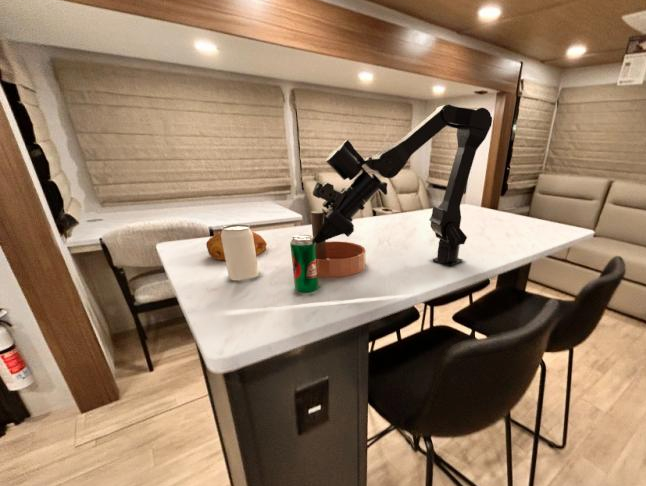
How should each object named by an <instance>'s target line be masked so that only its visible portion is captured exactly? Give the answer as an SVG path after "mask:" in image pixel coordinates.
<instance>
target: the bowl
mask: <svg viewBox="0 0 646 486" xmlns="http://www.w3.org/2000/svg"><path fill="white" fill-rule="evenodd" d="M365 248H366V247H364V246H363V245H361V244H358V243H355V242H349V241H340V240H339V241H338V240H337V241H336V240H335V241H333V240H332V241H326V255H327V258H329V260H326V259H317V267H318V278H329V279H333V278H335V279H336V278H345V277H351V276H353V275H356V274H359V273H361V272H363V271H364V270H365V268H366V266H367V265H366V264H367V263H366V249H365Z"/></svg>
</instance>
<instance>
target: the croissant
mask: <svg viewBox="0 0 646 486" xmlns="http://www.w3.org/2000/svg"><path fill="white" fill-rule="evenodd" d="M221 233H222V231H220V232H217V233H216V234H215V235H213V236H211V237H210V238H209V239H208V240H207V241H206V249H207V252H208V254H209V256H211V257H212V258H213V259H215V260H219V261H220V260H221V261H222V260H223V261H226V260H225V255H224V250H223V245H222V239H221ZM252 233H253V239H254V245H255V251H256V256H259V255H260V254H262V253H264V252H265V250H266V249H267V241H266V240H265V239H264V238H263V237H262V236H261V235H260V234H259V233H256V232H254V231H252Z"/></svg>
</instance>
